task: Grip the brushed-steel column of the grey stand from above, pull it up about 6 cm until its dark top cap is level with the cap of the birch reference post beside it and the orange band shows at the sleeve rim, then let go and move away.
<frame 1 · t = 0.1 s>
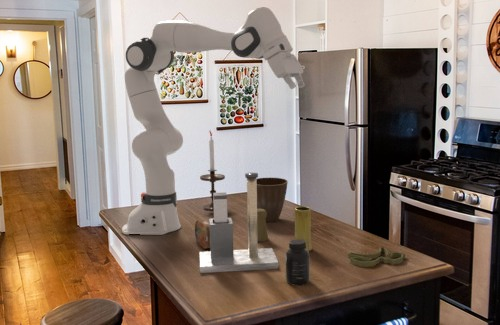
hand: (298, 87, 187), 54 cm above the kitchen island, tool tilted 30°, fingers open, 8 cm apart
stand: (237, 262, 178), on the kitchen island
plant pot: (269, 220, 227), on the kitchen island
candlestick: (213, 208, 248), on the kitchen island
cookie cutter: (376, 261, 178), on the kitchen island
supplement bottle: (297, 281, 161), on the kitchen island
tin: (204, 245, 196), on the kitchen island
column: (220, 225, 175), point 13 cm above the kitchen island, slide at 0.0 cm
vase: (302, 249, 190), on the kitchen island
olive waisted cylinder: (259, 239, 202), on the kitchen island
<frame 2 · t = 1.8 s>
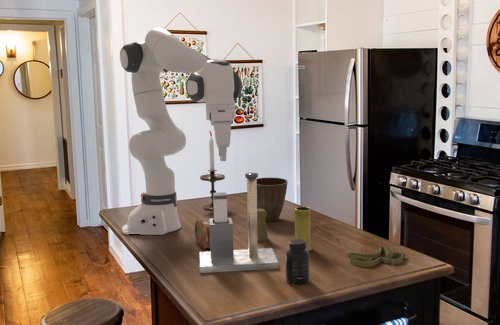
hand: (222, 158, 172), 34 cm above the kitchen island, tool pointing down, fingers open, 8 cm apart
nothing on the kitchen island moved.
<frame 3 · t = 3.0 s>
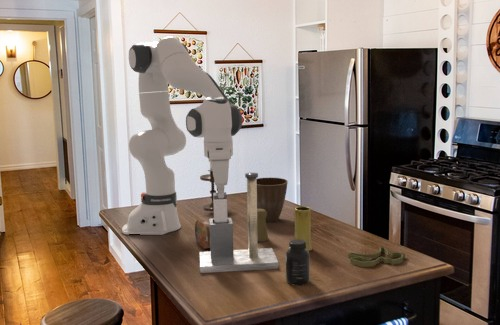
hand: (220, 194, 173), 23 cm above the kitchen island, tool pointing down, fingers open, 8 cm apart
nothing on the kitchen island moved.
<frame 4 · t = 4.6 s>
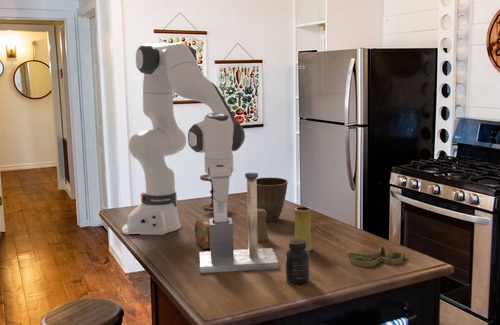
hand: (220, 210, 174), 18 cm above the kitchen island, tool pointing down, fingers closed on column, 4 cm apart
column: (220, 225, 175), point 13 cm above the kitchen island, slide at 0.0 cm, touching gripper
everything else where it was.
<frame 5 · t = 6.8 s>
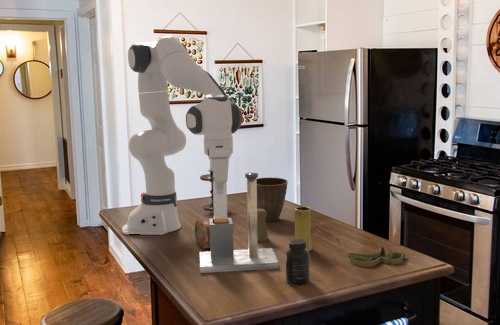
hand: (219, 191, 173), 23 cm above the kitchen island, tool pointing down, fingers closed on column, 4 cm apart
column: (220, 207, 174), point 18 cm above the kitchen island, slide at 5.7 cm, touching gripper
everything else where it was.
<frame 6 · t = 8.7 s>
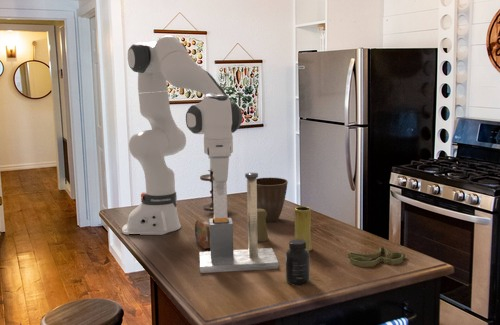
hand: (219, 191, 173), 24 cm above the kitchen island, tool pointing down, fingers open, 8 cm apart
column: (220, 207, 174), point 19 cm above the kitchen island, slide at 6.0 cm
everything else where it was.
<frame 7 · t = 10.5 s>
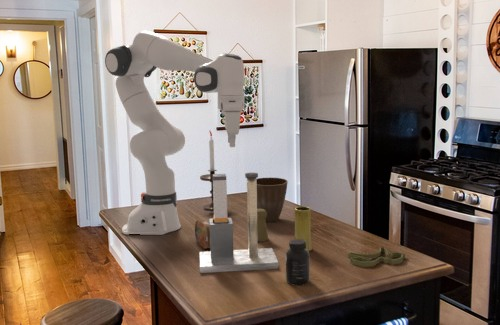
hand: (231, 144, 188), 36 cm above the kitchen island, tool pointing down, fingers open, 8 cm apart
nothing on the kitchen island moved.
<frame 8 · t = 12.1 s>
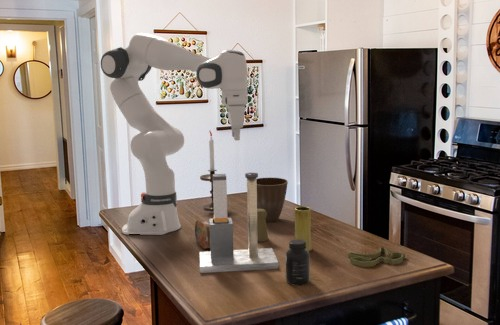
hand: (235, 138, 193), 37 cm above the kitchen island, tool pointing down, fingers open, 8 cm apart
nothing on the kitchen island moved.
at the end: column slide at 6.0 cm; the gripper is holding nothing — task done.
